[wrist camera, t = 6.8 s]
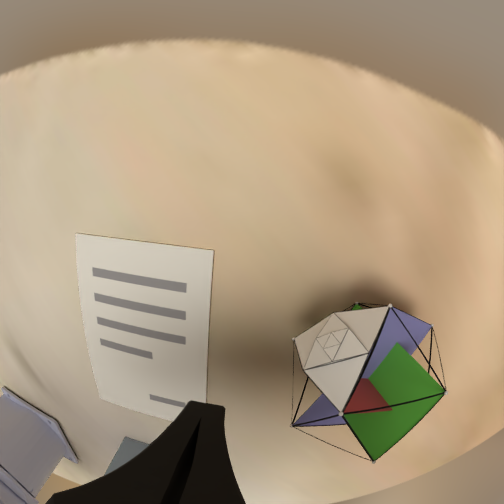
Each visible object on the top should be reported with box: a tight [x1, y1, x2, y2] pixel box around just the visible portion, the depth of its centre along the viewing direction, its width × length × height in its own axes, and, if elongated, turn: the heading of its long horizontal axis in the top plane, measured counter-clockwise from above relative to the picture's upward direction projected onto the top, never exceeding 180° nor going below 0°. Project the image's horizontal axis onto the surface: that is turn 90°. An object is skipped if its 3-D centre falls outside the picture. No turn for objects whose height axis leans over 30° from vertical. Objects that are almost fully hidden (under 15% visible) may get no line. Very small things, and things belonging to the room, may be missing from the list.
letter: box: [76, 233, 214, 421], centre depth 14 cm, size 8×12×1 cm, turn 174°
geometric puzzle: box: [290, 302, 448, 464], centre depth 10 cm, size 7×7×8 cm
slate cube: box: [104, 437, 149, 475], centre depth 15 cm, size 4×4×5 cm
